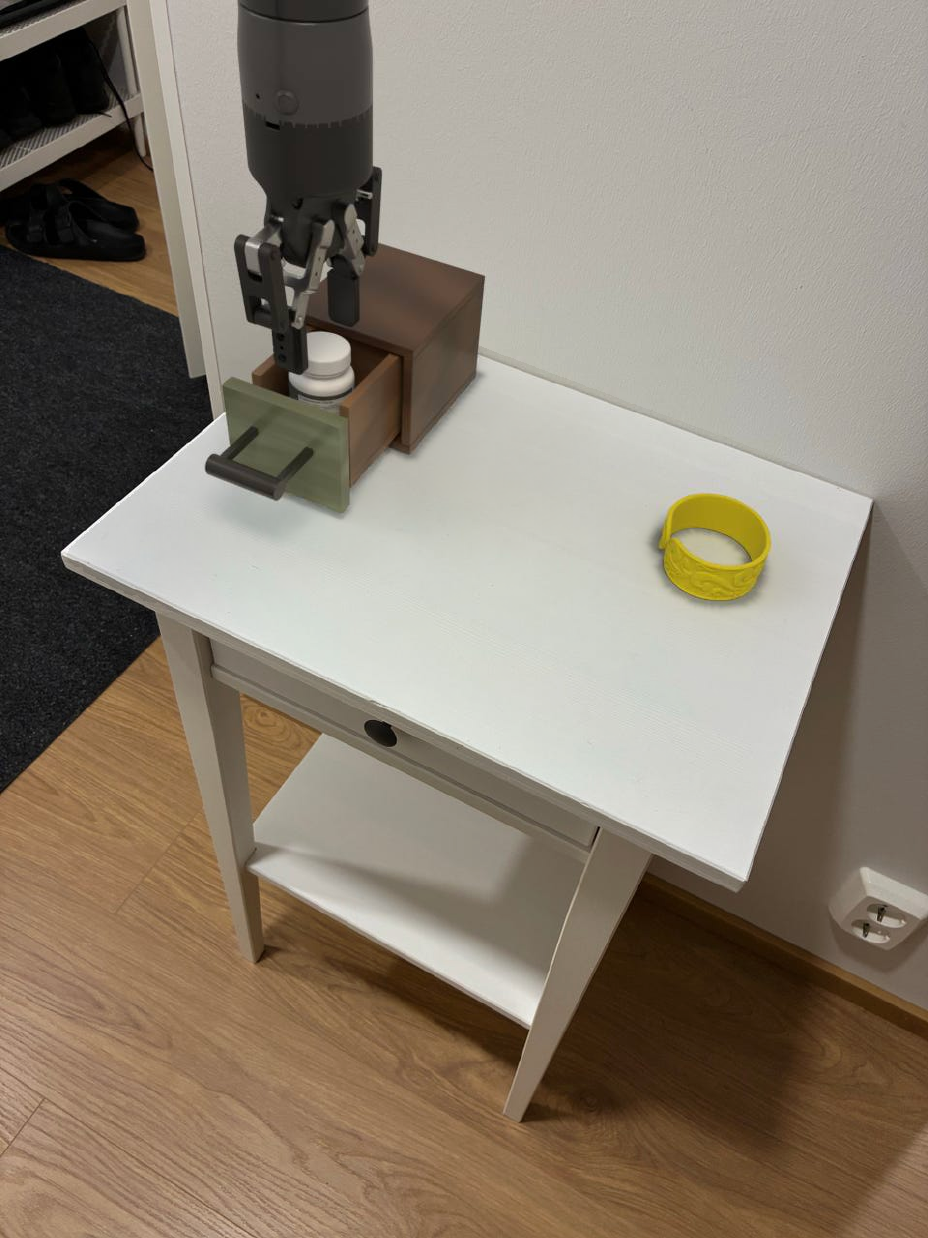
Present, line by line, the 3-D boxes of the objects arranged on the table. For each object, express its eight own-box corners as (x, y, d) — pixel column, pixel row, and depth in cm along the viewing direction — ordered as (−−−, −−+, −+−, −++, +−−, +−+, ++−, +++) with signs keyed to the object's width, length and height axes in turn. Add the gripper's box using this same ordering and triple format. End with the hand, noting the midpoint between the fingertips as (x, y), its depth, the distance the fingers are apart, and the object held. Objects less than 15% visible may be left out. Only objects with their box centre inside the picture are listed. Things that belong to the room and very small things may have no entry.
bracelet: (741, 524, 74) (754, 492, 72) (771, 601, 69) (786, 568, 67) (649, 524, 74) (659, 491, 71) (672, 601, 68) (684, 569, 66)
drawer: (302, 559, 67) (296, 472, 61) (190, 513, 69) (174, 425, 64) (414, 430, 78) (417, 345, 72) (313, 394, 80) (309, 309, 74)
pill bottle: (299, 418, 76) (297, 322, 70) (358, 429, 76) (361, 333, 70) (283, 454, 72) (279, 357, 66) (344, 465, 72) (347, 368, 66)
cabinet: (409, 455, 77) (413, 350, 70) (295, 413, 80) (288, 308, 72) (476, 376, 85) (485, 275, 78) (370, 340, 87) (370, 239, 80)
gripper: (316, 41, 61) (325, 285, 73) (176, 115, 52) (213, 379, 64) (422, 68, 59) (413, 314, 71) (296, 150, 50) (310, 415, 62)
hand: (318, 344), depth 68 cm, fingers open, 6 cm apart
